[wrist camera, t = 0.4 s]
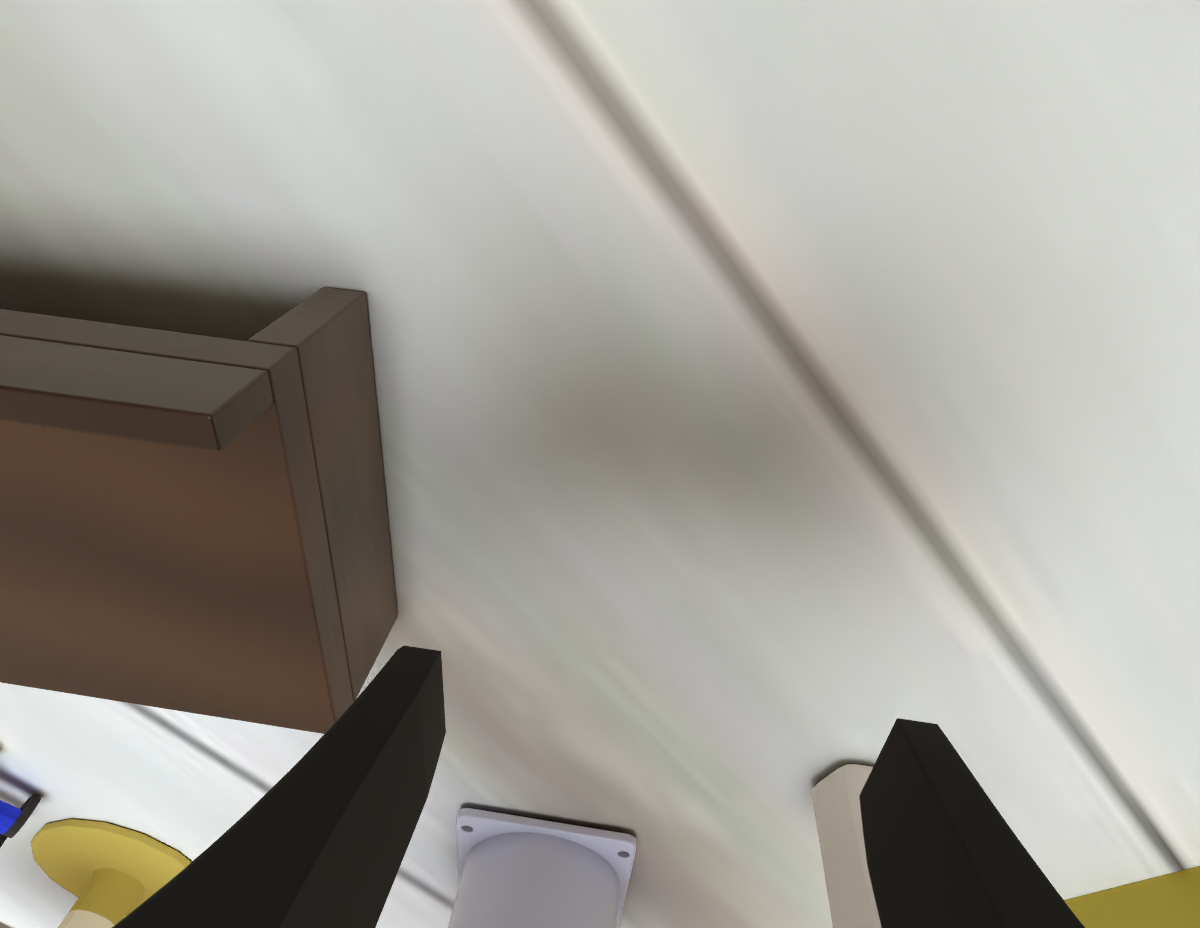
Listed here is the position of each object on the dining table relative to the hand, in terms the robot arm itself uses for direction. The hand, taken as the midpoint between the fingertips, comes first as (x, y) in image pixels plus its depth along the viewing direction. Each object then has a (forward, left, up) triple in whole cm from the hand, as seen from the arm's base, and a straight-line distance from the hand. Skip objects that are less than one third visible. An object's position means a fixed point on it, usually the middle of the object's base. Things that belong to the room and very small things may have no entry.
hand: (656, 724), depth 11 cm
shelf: (-3, +16, -10) cm, 20 cm away
